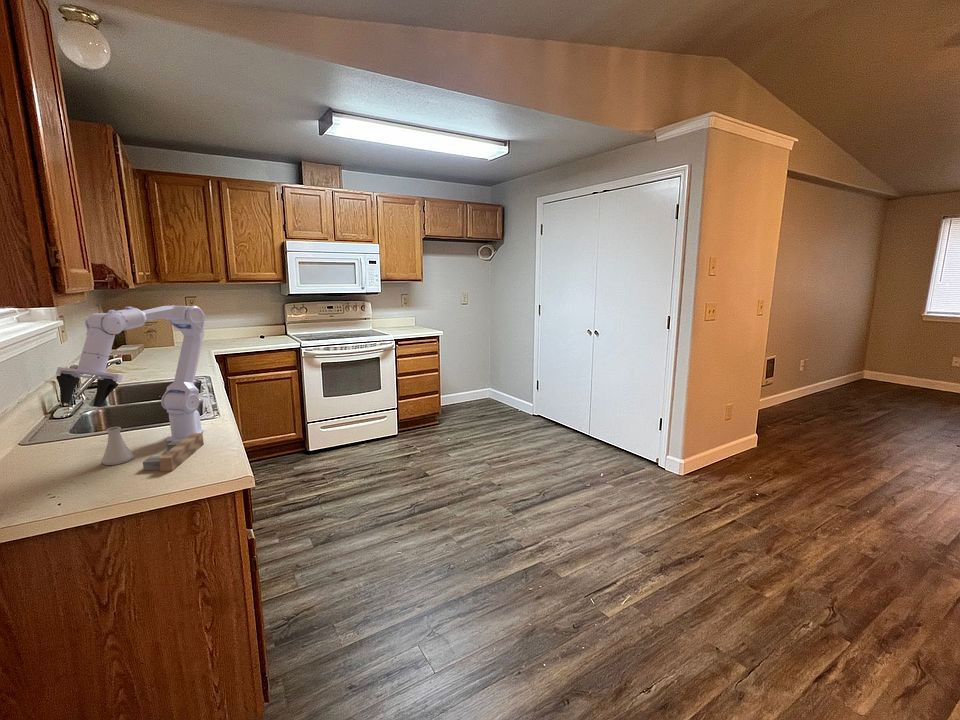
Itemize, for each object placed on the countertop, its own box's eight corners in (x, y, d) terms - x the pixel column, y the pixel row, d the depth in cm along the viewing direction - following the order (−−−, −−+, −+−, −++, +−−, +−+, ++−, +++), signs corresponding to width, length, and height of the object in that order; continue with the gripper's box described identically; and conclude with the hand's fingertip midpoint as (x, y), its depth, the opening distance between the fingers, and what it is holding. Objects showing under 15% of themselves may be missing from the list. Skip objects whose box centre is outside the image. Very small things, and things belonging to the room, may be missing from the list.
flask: (140, 457, 133) (135, 425, 131) (114, 467, 126) (109, 433, 124) (121, 454, 135) (117, 423, 133) (96, 464, 128) (90, 431, 126)
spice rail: (176, 445, 142) (174, 433, 141) (203, 444, 143) (202, 432, 142) (140, 472, 123) (138, 459, 122) (172, 471, 124) (170, 457, 123)
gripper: (54, 348, 116) (38, 400, 113) (116, 356, 118) (102, 407, 116) (72, 353, 123) (58, 402, 120) (131, 361, 125) (118, 409, 122)
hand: (81, 405), depth 118 cm, fingers open, 7 cm apart
